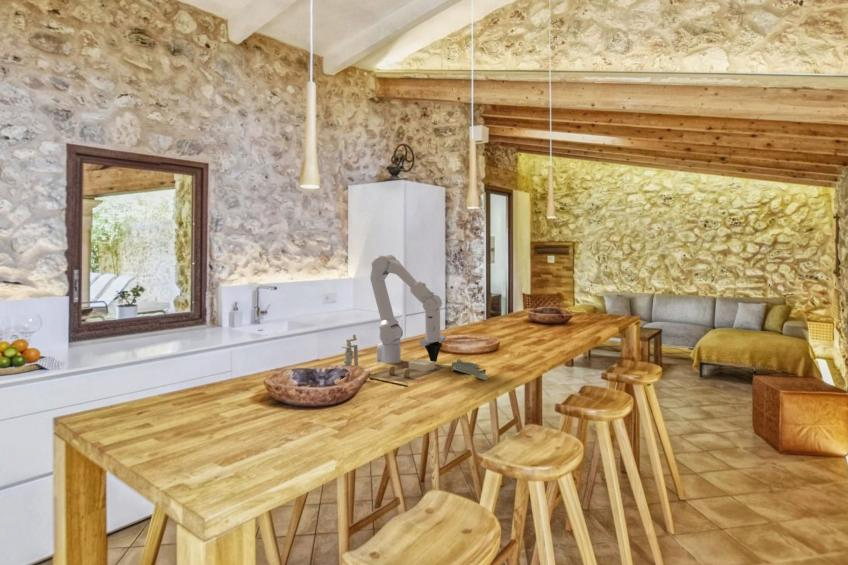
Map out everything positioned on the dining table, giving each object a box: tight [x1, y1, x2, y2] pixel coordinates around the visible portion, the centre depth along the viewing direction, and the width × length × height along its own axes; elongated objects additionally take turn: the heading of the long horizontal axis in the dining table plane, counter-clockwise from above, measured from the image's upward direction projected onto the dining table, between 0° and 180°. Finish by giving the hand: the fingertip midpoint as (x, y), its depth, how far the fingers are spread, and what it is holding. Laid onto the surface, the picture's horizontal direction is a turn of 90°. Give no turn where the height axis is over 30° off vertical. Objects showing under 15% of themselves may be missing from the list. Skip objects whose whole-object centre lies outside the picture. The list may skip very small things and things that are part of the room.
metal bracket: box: [450, 358, 488, 381], centre depth 180 cm, size 14×6×15 cm
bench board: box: [368, 362, 446, 388], centre depth 180 cm, size 17×24×4 cm
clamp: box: [341, 334, 359, 367], centre depth 179 cm, size 4×10×15 cm, turn 160°
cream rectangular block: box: [408, 358, 436, 372], centre depth 184 cm, size 8×6×2 cm
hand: (433, 361), depth 189 cm, fingers closed
